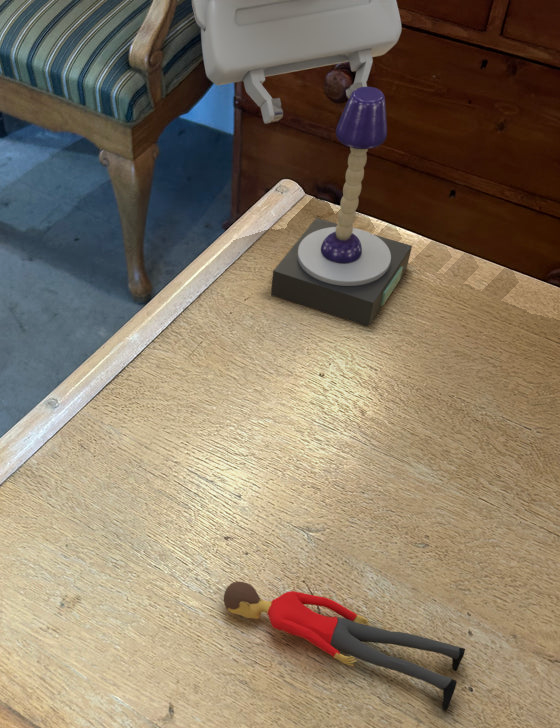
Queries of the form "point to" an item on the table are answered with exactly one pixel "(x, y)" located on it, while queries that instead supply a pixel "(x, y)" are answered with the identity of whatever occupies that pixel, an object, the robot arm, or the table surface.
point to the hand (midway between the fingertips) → (317, 112)
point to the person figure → (342, 632)
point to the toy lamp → (355, 166)
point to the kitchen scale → (341, 274)
